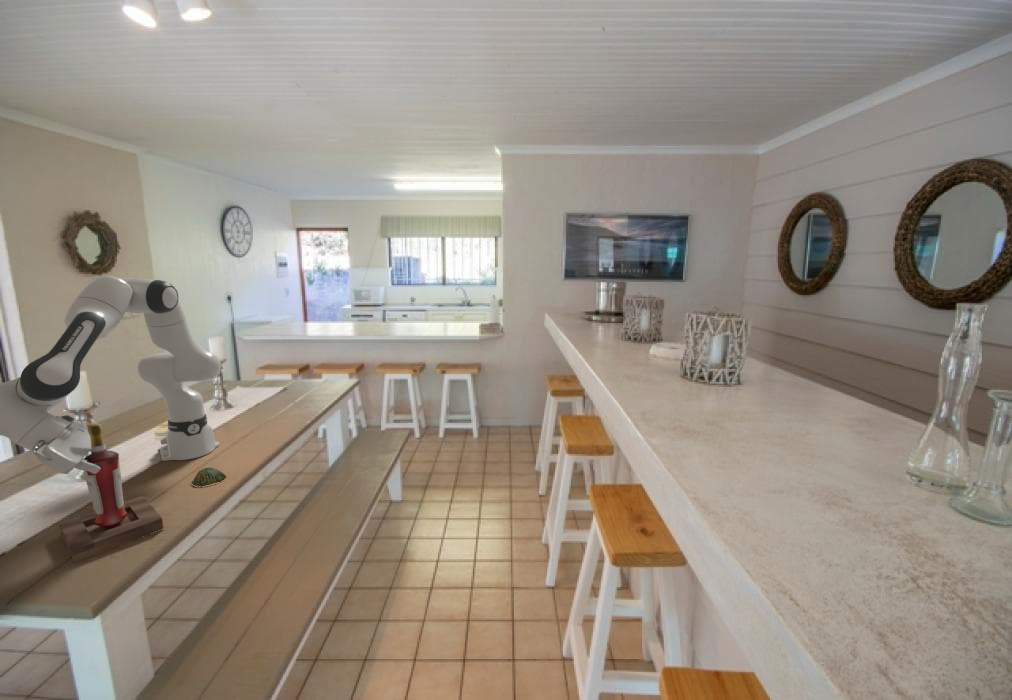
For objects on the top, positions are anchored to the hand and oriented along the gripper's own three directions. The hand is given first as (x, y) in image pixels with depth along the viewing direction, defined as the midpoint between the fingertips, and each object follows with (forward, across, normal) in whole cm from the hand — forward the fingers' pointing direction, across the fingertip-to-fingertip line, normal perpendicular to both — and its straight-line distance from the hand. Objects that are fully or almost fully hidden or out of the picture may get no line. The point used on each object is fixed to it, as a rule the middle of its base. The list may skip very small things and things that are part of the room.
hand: (104, 463), depth 118 cm
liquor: (+12, 0, +13) cm, 17 cm away
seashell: (+28, +23, +1) cm, 36 cm away
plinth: (+14, 0, +14) cm, 20 cm away
